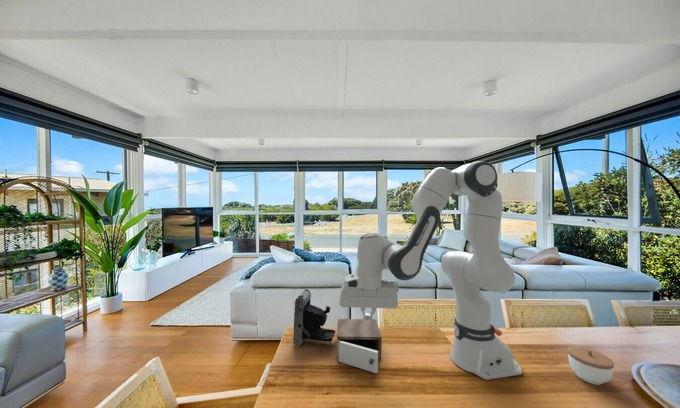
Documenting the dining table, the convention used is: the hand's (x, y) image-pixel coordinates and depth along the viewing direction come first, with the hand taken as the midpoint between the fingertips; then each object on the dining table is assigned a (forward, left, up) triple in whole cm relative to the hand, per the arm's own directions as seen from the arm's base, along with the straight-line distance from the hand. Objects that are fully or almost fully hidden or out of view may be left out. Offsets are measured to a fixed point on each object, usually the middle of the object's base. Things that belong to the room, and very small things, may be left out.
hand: (367, 319), depth 86 cm
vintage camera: (+19, -14, -17) cm, 29 cm away
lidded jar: (-74, +5, -17) cm, 76 cm away
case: (+2, -10, -16) cm, 19 cm away
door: (+4, +1, -16) cm, 17 cm away
